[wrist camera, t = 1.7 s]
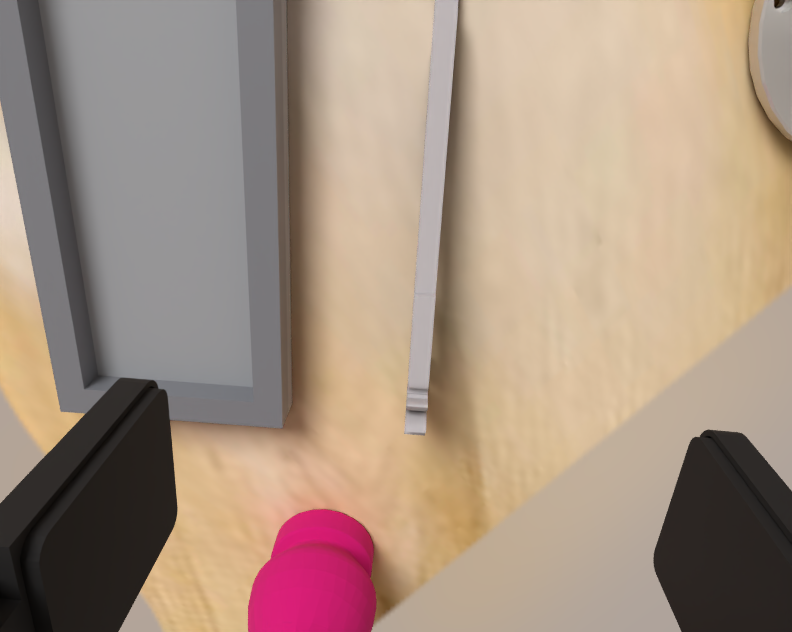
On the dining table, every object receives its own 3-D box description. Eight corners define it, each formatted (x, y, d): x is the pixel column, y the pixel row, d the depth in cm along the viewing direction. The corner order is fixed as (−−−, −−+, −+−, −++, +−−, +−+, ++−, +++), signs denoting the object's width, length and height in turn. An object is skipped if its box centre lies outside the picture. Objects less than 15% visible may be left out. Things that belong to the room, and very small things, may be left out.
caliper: (425, 389, 34) (425, 458, 28) (406, 388, 34) (402, 456, 28) (459, -22, 26) (469, -43, 20) (434, -24, 26) (437, -45, 20)
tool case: (283, -187, 24) (268, -212, 21) (292, 403, 35) (282, 428, 32) (-17, -203, 24) (-64, -230, 22) (84, 387, 35) (60, 411, 33)
